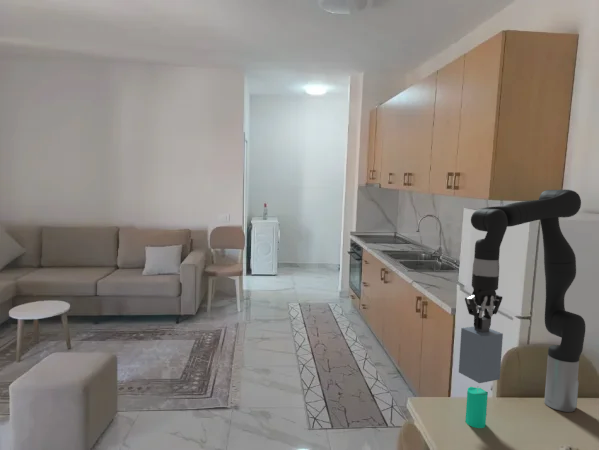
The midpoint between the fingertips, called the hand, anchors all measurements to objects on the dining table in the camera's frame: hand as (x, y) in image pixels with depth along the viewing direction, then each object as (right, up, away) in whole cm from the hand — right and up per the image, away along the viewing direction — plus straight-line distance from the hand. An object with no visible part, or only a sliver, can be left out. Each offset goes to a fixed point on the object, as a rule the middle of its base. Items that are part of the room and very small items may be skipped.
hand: (481, 327), depth 132 cm
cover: (0, -15, +1) cm, 15 cm away
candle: (-1, -31, +2) cm, 31 cm away
